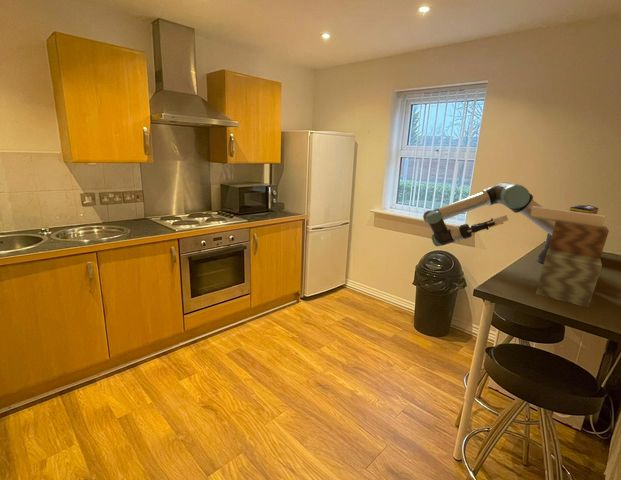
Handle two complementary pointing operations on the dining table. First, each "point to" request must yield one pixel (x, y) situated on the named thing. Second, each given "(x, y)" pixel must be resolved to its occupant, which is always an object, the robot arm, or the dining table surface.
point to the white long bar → (568, 216)
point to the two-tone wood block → (572, 263)
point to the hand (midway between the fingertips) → (505, 219)
